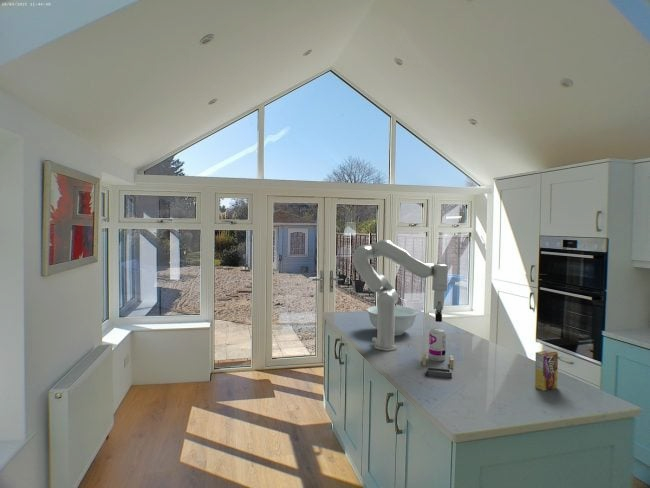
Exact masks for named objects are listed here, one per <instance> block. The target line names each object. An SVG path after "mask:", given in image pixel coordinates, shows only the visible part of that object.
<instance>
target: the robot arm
mask: <svg viewBox="0 0 650 488" xmlns="http://www.w3.org/2000/svg"><path fill="white" fill-rule="evenodd" d="M379 257H385V258H386V259H388V260H389V261H391V262H393V263H395V264H397V265H398V266H400V267H401V268H403V269H405V270H406V271H408V272H409V273H411V274H413V275H415V276H416V277H419V278H420V279H421V278H422V279H427V278H430V277H432V285H431V286H432V287H431V290H432V291H433V310H435V313H434V314H435V315H434V316H435V322H437V323H438V322H439V323H441V322H443V314H442V313H443V312H442V311H443V309H444V305H445V293H446V292H448V273H449V267H448V265H447V264H443V263H437V264H436V263H429V262H422V261H420V260H419V259H416V258H415V257H413V256H412V255H411V254H410V253H409V252H408V251H407V250H405V249H404V248H402V247H399V246H398V245H396V244H394V243H393V242H392V240H390V239H381V240H379V241H377V242H373V243H369V244H365V245H363V244H362V245H359V246H358V247H357V248H355V250H354V252H353V254H352V264H353V266H354V268H355V270H356V272H357V273H358V274H359V276H360V277H361V279H362V280H363V282H364V283H365V284H366V287H367V288H368V289H369V290H370V291H371V292H373V293H377V294H378V297H377V298H376V299H377V300H376V306H377V310H378V323H377V328H376V330H377V331H376V334H377V335H376V337H372V339H371V342H373V343H374V344H373V348H374V349H377V350H379V351H385V352H387V351H388V352H391V351H395V350H397V348H398V346H397V344H395V336H394V331H395V309H394V306H396V304H397V303H398V302H399V294H398V292H397V291H396V289H395V287H394V286H393V285H392V284H391V283H390V281H389V279H388V278H387V277H386V275H384V274H382V273H377V271H376V270H375V268H374V267H373V266H372V264H371V263H369V260H372V259H376V258H379Z"/></svg>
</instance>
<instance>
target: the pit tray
mask: <svg viewBox="0 0 650 488" xmlns="http://www.w3.org/2000/svg"><path fill="white" fill-rule="evenodd" d="M425 372H426V373H425V374H426V377H433V378H443V379H452V378H453V377H452V376H453V373H452V372H453V371H452V368H442V367H441V368H440V367H431V366H426V369H425Z"/></svg>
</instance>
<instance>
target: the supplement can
mask: <svg viewBox="0 0 650 488" xmlns="http://www.w3.org/2000/svg"><path fill="white" fill-rule="evenodd" d="M428 335H429V336H428V359H429V360H431V361H433V362H443V361H445V360H446V352H447V351H446V348H447V347H446V346H447V333H446V330H445V329H442V328H430V331H429V333H428Z"/></svg>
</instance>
